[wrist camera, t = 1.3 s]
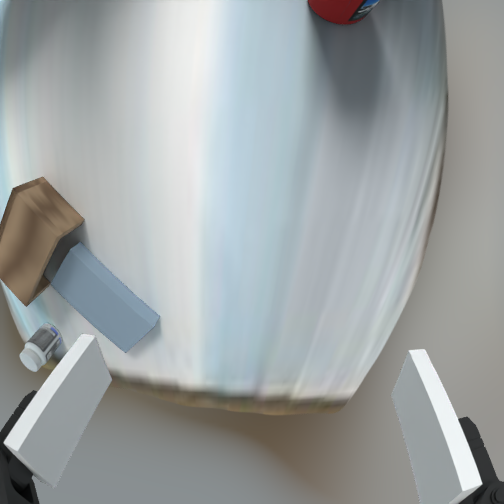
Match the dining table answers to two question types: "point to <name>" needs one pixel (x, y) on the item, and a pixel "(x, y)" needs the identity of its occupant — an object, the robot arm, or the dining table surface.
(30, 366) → the pill bottle
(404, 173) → the dining table surface
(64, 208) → the shelf
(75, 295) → the panel
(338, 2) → the beverage can
